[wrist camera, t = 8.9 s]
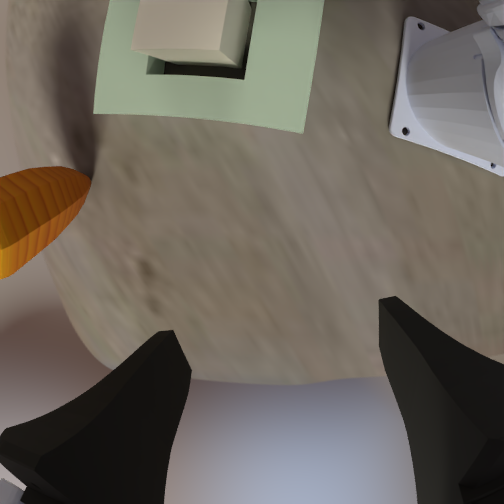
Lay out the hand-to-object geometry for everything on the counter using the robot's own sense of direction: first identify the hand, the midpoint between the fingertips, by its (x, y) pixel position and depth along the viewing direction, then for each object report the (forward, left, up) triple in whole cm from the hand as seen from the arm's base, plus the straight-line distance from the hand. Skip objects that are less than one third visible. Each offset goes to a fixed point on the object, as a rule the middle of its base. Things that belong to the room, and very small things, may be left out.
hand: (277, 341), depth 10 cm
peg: (+6, -11, -11) cm, 17 cm away
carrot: (+14, -1, -11) cm, 18 cm away
